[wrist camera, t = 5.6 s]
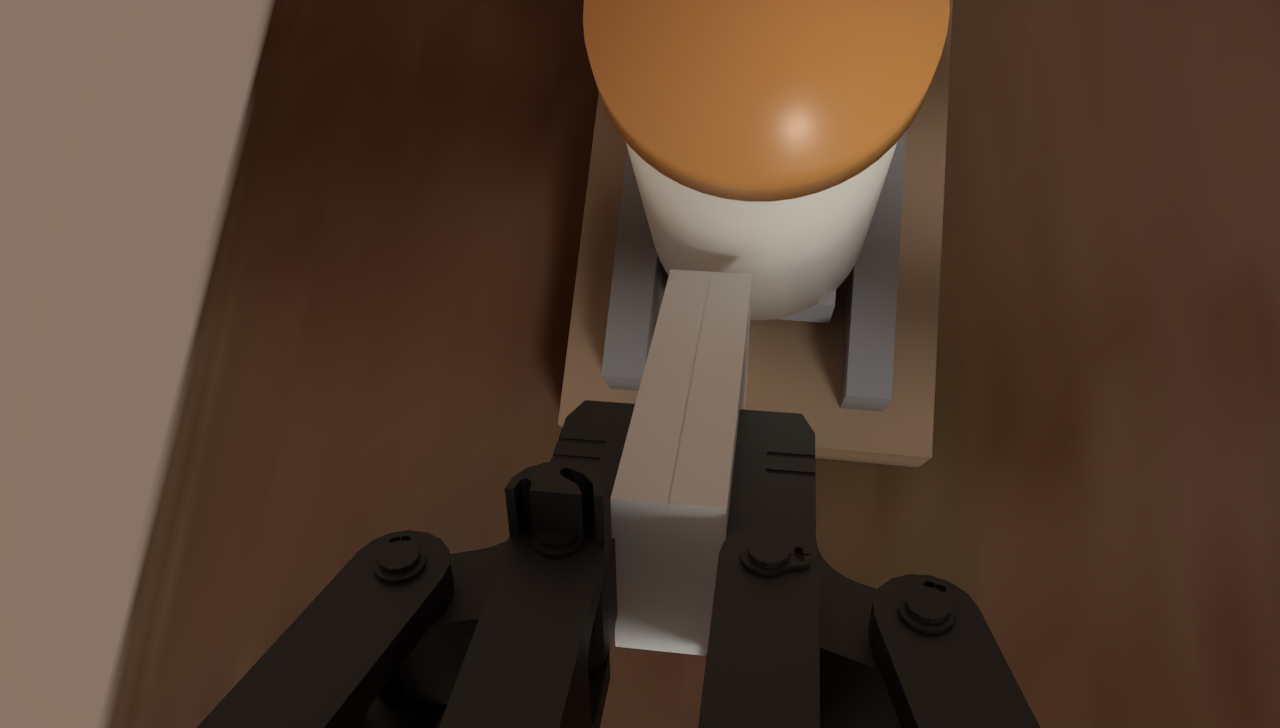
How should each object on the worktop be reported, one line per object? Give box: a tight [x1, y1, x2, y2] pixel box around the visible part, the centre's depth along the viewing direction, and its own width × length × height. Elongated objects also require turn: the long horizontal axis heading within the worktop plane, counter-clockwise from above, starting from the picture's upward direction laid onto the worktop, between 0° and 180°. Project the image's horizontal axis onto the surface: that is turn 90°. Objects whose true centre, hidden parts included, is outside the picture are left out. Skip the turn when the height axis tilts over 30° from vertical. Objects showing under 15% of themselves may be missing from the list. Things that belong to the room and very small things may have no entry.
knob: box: [583, 0, 950, 323], centre depth 20 cm, size 5×5×10 cm
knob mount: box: [558, 0, 953, 467], centre depth 26 cm, size 20×9×5 cm, turn 174°
